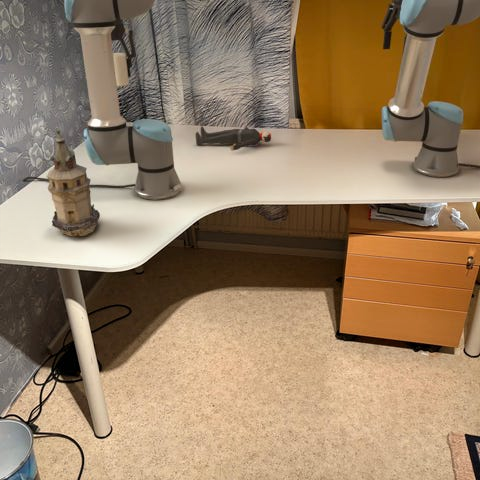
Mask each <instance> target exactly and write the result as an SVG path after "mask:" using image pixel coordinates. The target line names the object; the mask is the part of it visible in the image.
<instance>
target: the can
mask: <svg viewBox="0 0 480 480" xmlns="http://www.w3.org/2000/svg"><path fill="white" fill-rule="evenodd" d="M113 58H114V67H115V75H116V84H117V87H125V86H128V85H130V79H129V78H130V77H128V69H127V61H126V58H127V55H126V53H125V52H113Z"/></svg>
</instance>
